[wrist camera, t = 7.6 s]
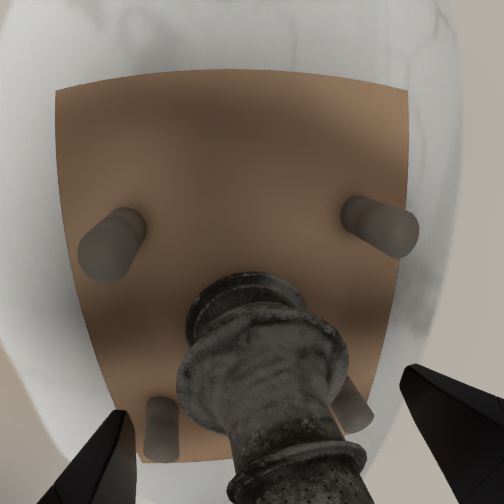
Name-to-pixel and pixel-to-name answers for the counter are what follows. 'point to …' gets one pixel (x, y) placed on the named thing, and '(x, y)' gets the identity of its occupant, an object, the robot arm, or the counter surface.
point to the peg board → (229, 221)
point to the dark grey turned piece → (270, 392)
